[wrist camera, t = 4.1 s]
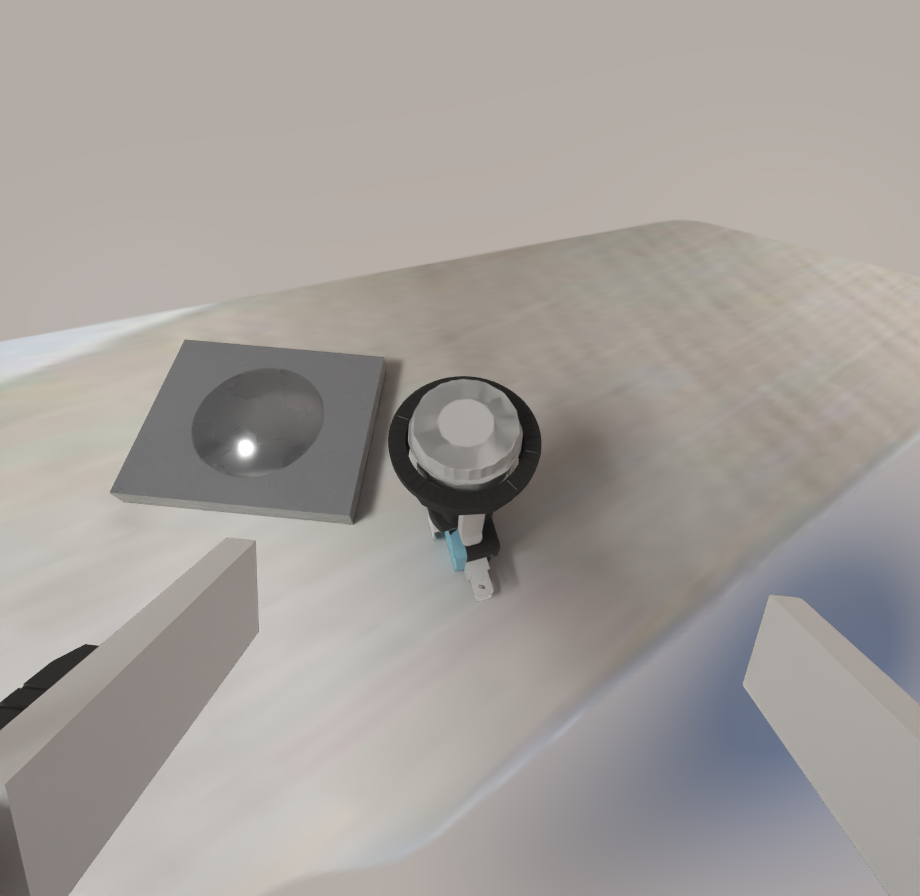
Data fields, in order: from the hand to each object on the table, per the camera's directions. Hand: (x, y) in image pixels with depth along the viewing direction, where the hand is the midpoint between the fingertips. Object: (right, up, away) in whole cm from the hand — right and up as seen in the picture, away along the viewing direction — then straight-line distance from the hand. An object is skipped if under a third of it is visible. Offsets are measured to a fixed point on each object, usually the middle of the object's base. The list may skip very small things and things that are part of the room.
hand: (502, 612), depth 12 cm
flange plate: (-12, +5, +15) cm, 20 cm away
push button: (-1, 0, +12) cm, 12 cm away
